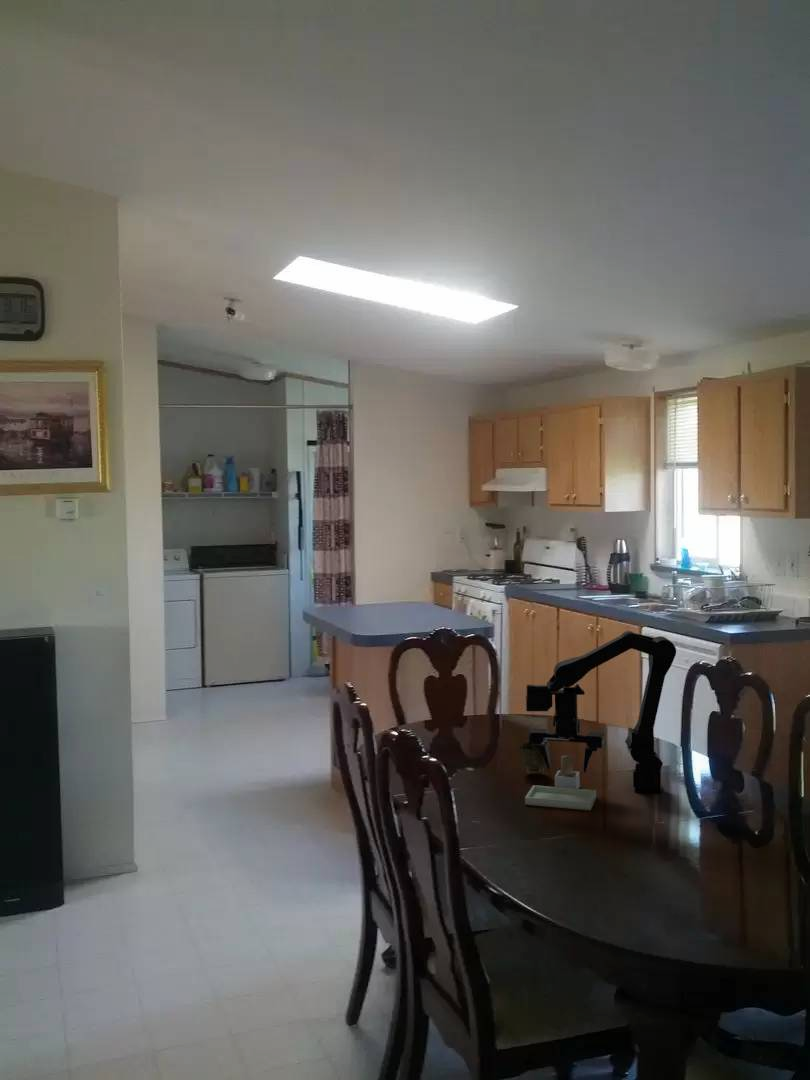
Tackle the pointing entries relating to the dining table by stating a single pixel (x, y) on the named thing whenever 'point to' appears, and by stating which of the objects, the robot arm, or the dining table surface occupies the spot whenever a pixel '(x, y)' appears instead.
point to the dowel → (567, 766)
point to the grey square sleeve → (567, 780)
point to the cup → (531, 758)
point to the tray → (561, 797)
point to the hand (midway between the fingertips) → (567, 771)
